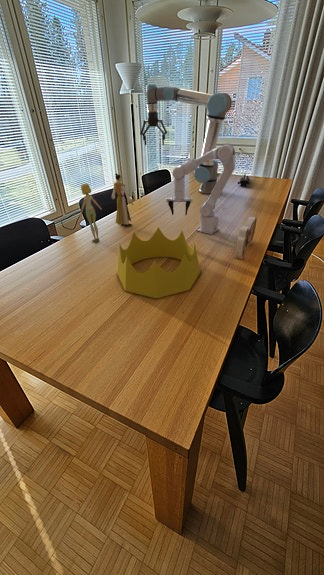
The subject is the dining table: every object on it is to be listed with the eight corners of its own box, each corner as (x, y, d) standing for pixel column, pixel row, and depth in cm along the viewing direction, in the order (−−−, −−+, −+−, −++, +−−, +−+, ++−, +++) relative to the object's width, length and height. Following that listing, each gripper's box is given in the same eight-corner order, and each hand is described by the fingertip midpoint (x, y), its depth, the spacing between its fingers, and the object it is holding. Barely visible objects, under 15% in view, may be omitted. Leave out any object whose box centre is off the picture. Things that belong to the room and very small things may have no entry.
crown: (123, 254, 130) (119, 225, 122) (197, 252, 128) (198, 223, 120) (109, 299, 101) (102, 265, 92) (204, 297, 99) (206, 262, 90)
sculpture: (103, 236, 150) (93, 180, 132) (108, 238, 147) (98, 181, 130) (83, 243, 142) (70, 186, 125) (88, 246, 140) (75, 187, 122)
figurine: (140, 227, 158) (135, 173, 141) (129, 231, 153) (122, 176, 136) (119, 219, 169) (112, 169, 152) (109, 224, 164) (100, 172, 147)
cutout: (244, 233, 111) (258, 210, 128) (237, 232, 113) (252, 210, 129) (240, 263, 121) (254, 238, 137) (234, 262, 122) (248, 237, 138)
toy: (240, 179, 245) (237, 186, 221) (241, 173, 242) (238, 180, 219) (251, 179, 242) (249, 186, 218) (251, 174, 240) (249, 180, 216)
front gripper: (193, 188, 146) (192, 212, 153) (167, 188, 148) (168, 211, 156) (192, 191, 140) (191, 216, 148) (165, 191, 142) (166, 216, 150)
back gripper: (134, 112, 188) (137, 146, 200) (169, 110, 184) (169, 145, 196) (136, 112, 194) (139, 144, 206) (170, 110, 190) (171, 143, 202)
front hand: (179, 214), depth 151 cm, fingers open, 7 cm apart
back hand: (154, 145), depth 201 cm, fingers open, 13 cm apart
